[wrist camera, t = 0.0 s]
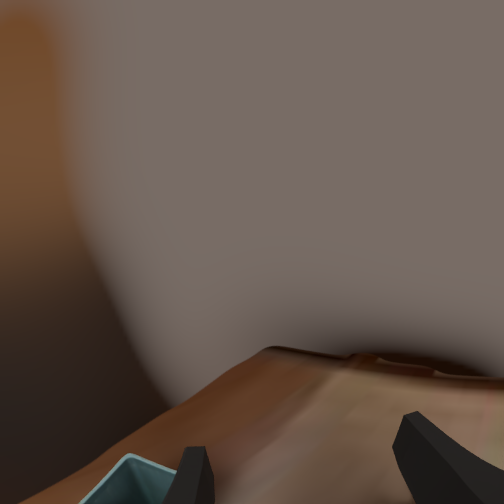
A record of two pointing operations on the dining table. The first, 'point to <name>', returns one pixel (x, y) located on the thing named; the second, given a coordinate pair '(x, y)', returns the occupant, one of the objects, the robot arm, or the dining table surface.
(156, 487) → the flower pot
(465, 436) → the dining table surface
